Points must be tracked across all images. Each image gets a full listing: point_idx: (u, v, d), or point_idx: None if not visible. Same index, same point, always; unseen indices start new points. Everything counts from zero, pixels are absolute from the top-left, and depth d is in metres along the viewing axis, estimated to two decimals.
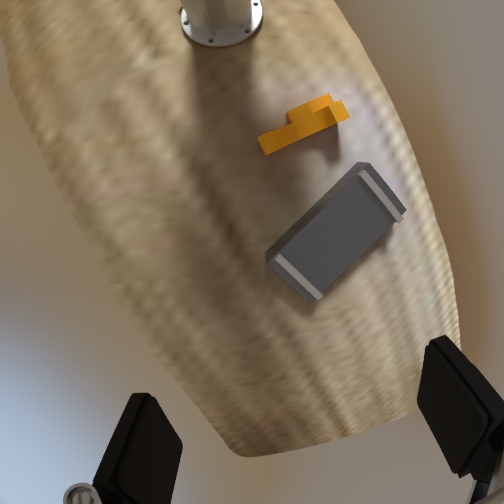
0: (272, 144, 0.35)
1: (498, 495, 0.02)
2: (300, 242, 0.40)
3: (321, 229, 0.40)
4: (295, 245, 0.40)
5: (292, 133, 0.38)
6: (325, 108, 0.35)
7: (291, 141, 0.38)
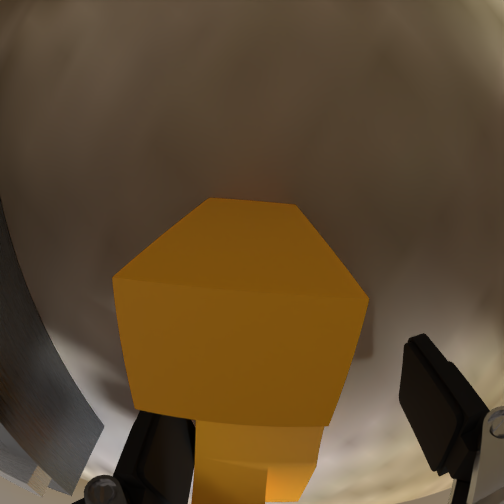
0: (197, 380, 0.03)
1: (498, 495, 0.02)
2: None
3: None
4: None
5: None
6: None
7: None
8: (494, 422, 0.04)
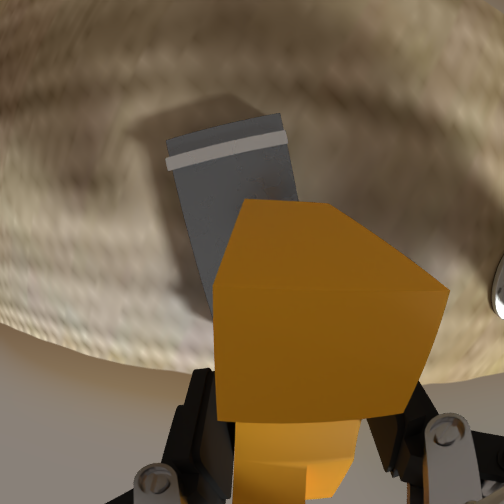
0: (294, 383, 0.03)
1: (498, 495, 0.02)
2: (279, 184, 0.22)
3: None
4: (279, 173, 0.22)
5: None
6: None
7: None
8: (437, 431, 0.05)
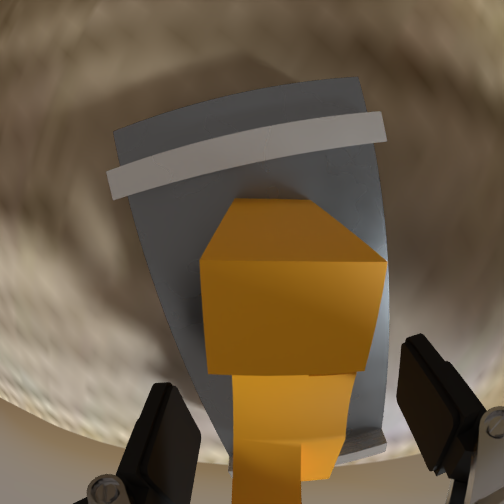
0: (265, 338, 0.04)
1: (498, 495, 0.02)
2: (355, 227, 0.10)
3: None
4: (357, 205, 0.10)
5: None
6: (296, 499, 0.08)
7: None
8: (491, 422, 0.04)
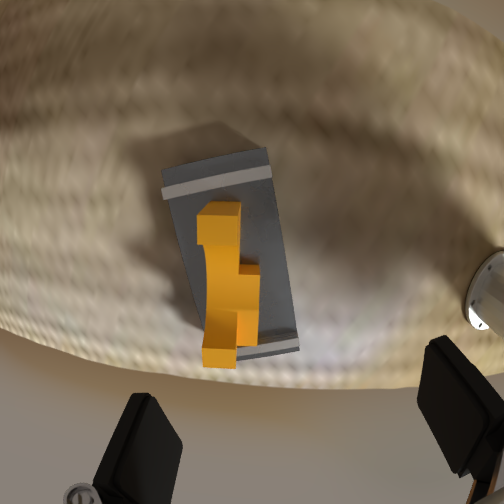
0: (210, 233, 0.19)
1: (498, 495, 0.02)
2: (263, 212, 0.25)
3: (262, 251, 0.26)
4: (264, 203, 0.25)
5: (220, 264, 0.24)
6: (233, 338, 0.23)
7: (208, 257, 0.23)
8: None
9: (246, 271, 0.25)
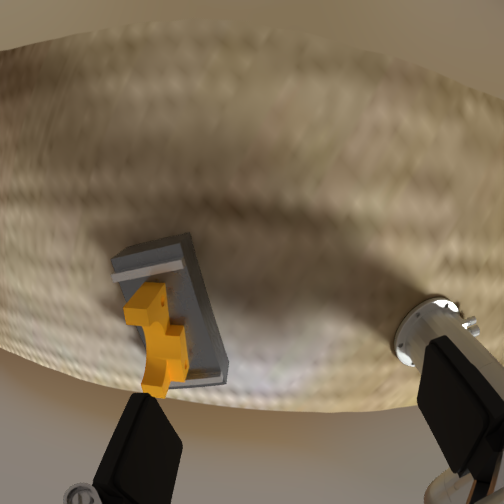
0: (132, 318, 0.27)
1: (498, 495, 0.02)
2: (183, 290, 0.33)
3: (186, 316, 0.34)
4: (183, 284, 0.33)
5: (151, 328, 0.32)
6: (162, 378, 0.31)
7: None
8: None
9: (171, 332, 0.33)
